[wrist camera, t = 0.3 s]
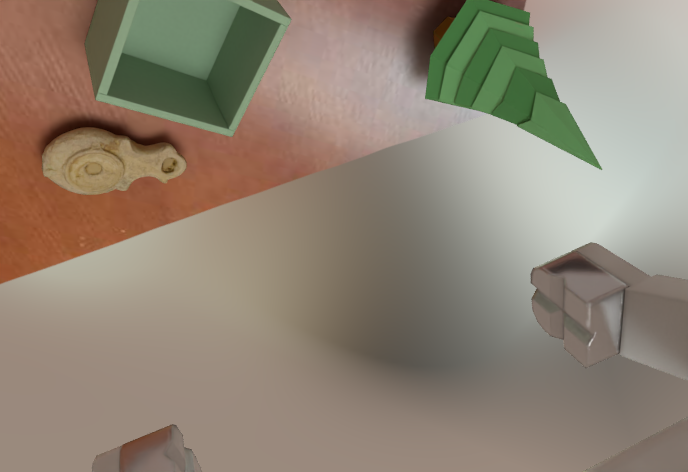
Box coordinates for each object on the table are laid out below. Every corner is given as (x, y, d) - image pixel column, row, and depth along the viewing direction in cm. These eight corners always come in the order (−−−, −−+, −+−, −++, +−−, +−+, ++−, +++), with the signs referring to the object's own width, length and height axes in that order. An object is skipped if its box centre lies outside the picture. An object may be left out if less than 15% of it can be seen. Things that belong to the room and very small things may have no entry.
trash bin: (125, -92, 47) (145, -49, 41) (258, -25, 56) (291, 19, 49) (84, 44, 54) (94, 100, 47) (208, 85, 62) (232, 137, 56)
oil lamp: (185, 154, 68) (194, 178, 65) (77, 199, 66) (81, 226, 63) (147, 86, 60) (155, 110, 56) (23, 135, 58) (24, 162, 55)
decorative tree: (408, 100, 76) (535, 244, 58) (396, -4, 64) (553, 139, 46) (490, 63, 78) (640, 194, 59) (494, -44, 66) (684, 78, 47)
